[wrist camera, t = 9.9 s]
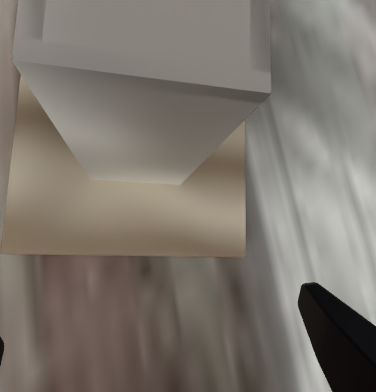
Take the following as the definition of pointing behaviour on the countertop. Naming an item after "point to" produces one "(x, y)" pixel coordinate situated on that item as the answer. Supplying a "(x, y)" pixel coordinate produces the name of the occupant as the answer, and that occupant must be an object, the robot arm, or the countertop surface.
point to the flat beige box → (117, 201)
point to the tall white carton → (144, 78)
